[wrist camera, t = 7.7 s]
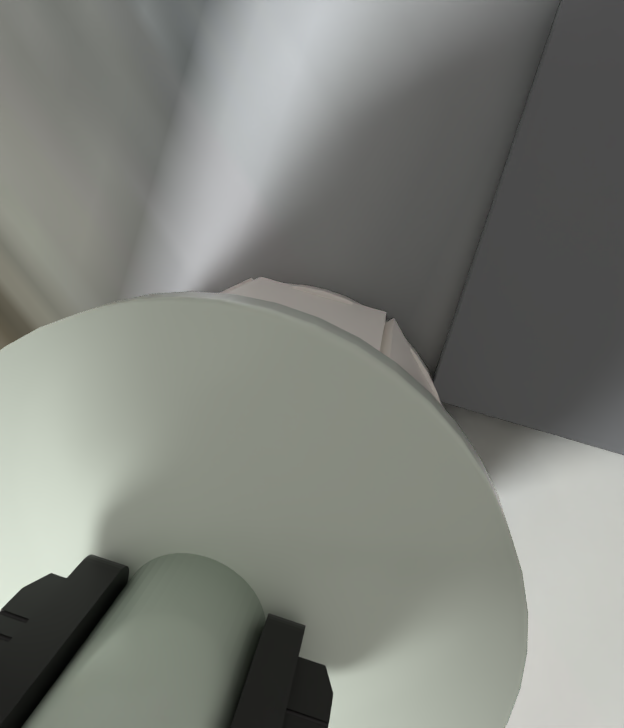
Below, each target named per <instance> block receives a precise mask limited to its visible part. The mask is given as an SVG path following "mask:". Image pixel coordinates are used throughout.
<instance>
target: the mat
mask: <svg viewBox="0 0 624 728" xmlns="http://www.w3.org/2000/svg"><path fill="white" fill-rule="evenodd" d="M433 384H434V387H435V389H436V391H437V393H438V396H439V399H440V401H441V402H444V403H447V404H451V405H454V406H458V407H461V408H464V409H468V410H471V411H475V412H478V413H482V414H485V415H488V416H492V417H495V418H499V419H502V420H505V421H509V422H512V423H516V424H519V425H523V426H526V427H529V428H533V429H536V430H540V431H543V432H546V433H550V434H553V435H557V436H560V437H564V438H567V439H570V440H574V441H577V442H581V443H584V444H587V445H591V446H594V447H598V448H601V449H605V450H608V451H611V452H615V453H618V454H622V455H624V0H561V2H560V4H559V7H558V10H557V13H556V16H555V19H554V22H553V25H552V28H551V31H550V34H549V37H548V40H547V43H546V46H545V49H544V52H543V55H542V58H541V61H540V64H539V67H538V70H537V73H536V76H535V79H534V81H533V84H532V87H531V90H530V93H529V96H528V99H527V102H526V105H525V108H524V111H523V114H522V117H521V120H520V123H519V126H518V129H517V132H516V135H515V138H514V141H513V144H512V147H511V150H510V153H509V156H508V158H507V161H506V164H505V167H504V170H503V173H502V176H501V179H500V182H499V185H498V188H497V191H496V194H495V197H494V200H493V203H492V206H491V209H490V212H489V215H488V218H487V221H486V224H485V227H484V230H483V233H482V235H481V238H480V241H479V244H478V247H477V250H476V253H475V256H474V259H473V262H472V265H471V268H470V271H469V274H468V277H467V280H466V283H465V286H464V289H463V292H462V295H461V298H460V301H459V304H458V307H457V310H456V312H455V315H454V318H453V321H452V324H451V327H450V330H449V333H448V336H447V339H446V342H445V345H444V348H443V351H442V354H441V357H440V360H439V363H438V366H437V369H436V372H435V375H434V378H433Z"/></svg>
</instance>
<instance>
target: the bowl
mask: <svg viewBox="0 0 624 728" xmlns="http://www.w3.org/2000/svg"><path fill="white" fill-rule="evenodd" d="M219 293H225V294H237V295H241V296H246V297H251V298H256V299H260V300H265V301H270V302H275V303H279V304H282V305H285V306H287V307H290V308H293V309H296V310H299V311H302V312H305V313H307V314H310V315H313V316H316V317H319V318H321V319H323V320H325V321H327V322H329V323H331V324H333V325H335V326H337V327H339V328H341V329H343V330H345V331H347V332H349V333H351V334H353V335H355V336H357V337H359V338H361V339H362V340H364V341H365V342H367V343H368V344H370V345H371V346H373V347H374V348H375V349H377V350H378V351H380V352H381V353H383V354H384V355H386V356H387V357H389V358H390V359H392V360H393V361H395V362H396V363H397V364H399V365H400V366H401V367H402V368H403V369H404V370H405V371H407V372H408V373H409V374H410V375H411V376H412V377H413V378H415V379H416V380H417V381H418V382H419V383H420V384H421V385H422V386H424V387H425V388H426V389H427V390H428V391H429V392H430V393H431V394H432V395H433V396H434V397H435V399H436V400H437V401H438V402H439V403H440V404H441V405H442V403H441V401H440V399H439V396H438V393H437V391H436V389H435V387H434V384H433V379H432V377H431V375H430V373H429V371H428V369H427V367H426V366H425V364H424V362H423V361H422V359H421V358H420V356H419V355H418V353H417V352H416V350H415V349H414V348H413V347H412V346H411V344H410V343H409V342H408V341H407V340H406V338H405V337H404V335H403V333H402V331H401V330H400V328H399V326H398V324H397V322H396V321H395V319H394V318H393V319H391V320H389V321H386V320H385V318H386V313H387V312H385V311H381V310H377V309H374V308H370V307H367V306H364V305H362V304H360V303H358V302H356V301H354V300H352V299H350V298H348V297H346V296H343V295H341V294H338V293H335V292H332V291H329V290H326V289H322V288H318V287H313V286H308V285H302V284H289V283H282V282H278V281H275V280H271V279H267V278H264V277H259V278H257V279H255V280H253V279H252V278H250V279H248V280H246V281H244V282H241V283H239V284H237V285H235V286H233V287H230V288H228V289H226V290H224V291H222V292H219ZM442 407H443V405H442ZM443 408H444V407H443Z"/></svg>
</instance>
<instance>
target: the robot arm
mask: <svg viewBox="0 0 624 728" xmlns="http://www.w3.org/2000/svg"><path fill="white" fill-rule="evenodd" d="M128 577H129V567H128V566H126V565H123V564H120V563H117V562H114V561H111V560H108V559H105V558H102V557H99V556H96V555H93V554H90V555H88V556H87V557H85V558H84V559H83V561H82V562H81V563H80V564H79V565H78V566H77V567H76V568H75V569H74V570H73V572H72V573H71V574H70V575H69V576H68V577H67V578H65V577H62V576H59V575H56V574H53V573H50V574H48V575H46V576H44V577H42V578H40V579H38V580H36V581H34V582H32V583H30V584H29V585H27V586H25V587H23V588H22V589H21V590H20V591H19V592H18V593H17V594H16V595H15V596H14V597H13V598H12V599H11V600H10V601H9V602H8V603H7V604H6V605H5V606H4V607H3V608H2V609H1V611H0V728H21V727H22V726H23V724H24V723H25V721H26V720H27V719H28V717H29V716H30V715H31V713H32V712H33V711H34V709H35V708H36V707H37V705H38V704H39V702H40V701H41V700H42V698H43V697H44V696H45V694H46V693H47V692H48V690H49V689H50V687H51V686H52V685H53V683H54V682H55V681H56V679H57V678H58V677H59V675H60V674H61V672H62V671H63V670H64V668H65V667H66V666H67V664H68V663H69V662H70V660H71V659H72V658H73V656H74V655H75V653H76V652H77V651H78V649H79V648H80V647H81V645H82V644H83V643H84V641H85V640H86V638H87V637H88V636H89V634H90V633H91V632H92V630H93V629H94V628H95V626H96V625H97V624H98V622H99V621H100V619H101V618H102V617H103V615H104V614H105V613H106V611H107V610H108V609H109V607H110V606H111V604H112V603H113V602H114V600H115V599H116V598H117V596H118V595H119V594H120V592H121V591H122V590H123V588H124V587H125V585H126V584H127V582H128ZM305 626H306V625H303V624H300V623H297V622H294V621H291V620H288V619H285V618H282V617H279V616H276V615H273V614H270V613H269V614H268V616H267V619H266V622H265V625H264V628H263V631H262V634H261V637H260V640H259V643H258V646H257V649H256V652H255V655H254V658H253V661H252V664H251V667H250V670H249V673H248V676H247V679H246V682H245V685H244V688H243V691H242V694H241V697H240V700H239V703H238V706H237V709H236V712H235V715H234V718H233V721H232V724H231V727H230V728H328V725H329V721H330V714H331V707H332V700H333V690H332V687H331V683H330V680H329V676H328V672H327V669H326V665H323V664H320V663H317V662H314V661H311V660H308V659H305V658H302V657H299V653H300V649H301V644H302V640H303V636H304V631H305Z"/></svg>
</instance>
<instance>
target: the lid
mask: <svg viewBox="0 0 624 728" xmlns="http://www.w3.org/2000/svg"><path fill="white" fill-rule="evenodd" d="M90 554H93V555H96V556H99V557H102V558H105V559H108V560H111V561H114V562H117V563H120V564H123V565H126V566H128V567H129V577H128V582H127V584H126V585H125V587H124V588H123V590H122V591H121V592H120V594H119V595H118V596H117V598H116V599H115V600H114V602H113V603H112V604H111V606H110V607H109V609H108V610H107V611H106V613H105V614H104V615H103V617H102V618H101V619H100V621H99V622H98V624H97V625H96V626H95V628H94V629H93V630H92V632H91V633H90V634H89V636H88V637H87V638H86V640H85V641H84V643H83V644H82V645H81V647H80V648H79V649H78V651H77V652H76V653H75V655H74V656H73V658H72V659H71V660H70V662H69V663H68V664H67V666H66V667H65V668H64V670H63V671H62V672H61V674H60V675H59V677H58V678H57V679H56V681H55V682H54V683H53V685H52V686H51V687H50V689H49V690H48V692H47V693H46V694H45V696H44V697H43V698H42V700H41V701H40V702H39V704H38V705H37V707H36V708H35V709H34V711H33V712H32V713H31V715H30V716H29V717H28V719H27V720H26V721H25V723H24V724H23V726H22V727H21V728H230V727H231V724H232V721H233V718H234V715H235V712H236V709H237V706H238V703H239V700H240V697H241V694H242V691H243V688H244V685H245V682H246V679H247V676H248V673H249V670H250V667H251V664H252V661H253V658H254V655H255V652H256V649H257V646H258V643H259V640H260V637H261V634H262V631H263V628H264V625H265V622H266V619H267V616H268V614H269V613H270V614H273V615H276V616H279V617H282V618H285V619H288V620H291V621H294V622H297V623H300V624H303V625H306V626H305V631H304V636H303V640H302V644H301V649H300V653H299V657H302V658H305V659H308V660H311V661H314V662H317V663H320V664H323V665H326V669H327V672H328V676H329V680H330V683H331V687H332V690H333V700H332V707H331V714H330V721H329V725H328V728H505V726H506V724H507V723H508V720H509V718H510V715H511V712H512V709H513V707H514V704H515V701H516V699H517V696H518V693H519V690H520V687H521V682H522V677H523V671H524V666H525V661H526V655H527V636H528V610H527V602H526V595H525V588H524V581H523V574H522V570H521V567H520V563H519V560H518V557H517V554H516V550H515V547H514V544H513V540H512V537H511V534H510V531H509V528H508V524H507V521H506V518H505V515H504V512H503V509H502V506H501V503H500V500H499V497H498V494H497V492H496V490H495V488H494V486H493V484H492V482H491V480H490V477H489V475H488V473H487V471H486V469H485V467H484V465H483V463H482V460H481V459H480V457H479V456H478V454H477V452H476V451H475V449H474V448H473V446H472V445H471V443H470V442H469V440H468V439H467V437H466V436H465V434H464V433H463V431H462V430H461V428H460V427H459V425H458V424H457V423H456V421H455V420H454V419H453V418H452V417H451V416H450V415H449V413H448V412H447V411H446V410H445V409H444V408H443V407H442V405H441V404H440V403H439V402H438V401H437V400H436V399H435V397H434V396H433V395H432V394H431V393H430V392H429V391H428V390H427V389H426V388H425V387H424V386H422V385H421V384H420V383H419V382H418V381H417V380H416V379H415V378H413V377H412V376H411V375H410V374H409V373H408V372H407V371H405V370H404V369H403V368H402V367H401V366H400V365H399V364H397V363H396V362H395V361H393V360H392V359H390V358H389V357H387V356H386V355H384V354H383V353H381V352H380V351H378V350H377V349H375V348H374V347H373V346H371V345H370V344H368V343H367V342H365V341H364V340H362V339H361V338H359V337H357V336H355V335H353V334H351V333H349V332H347V331H345V330H343V329H341V328H339V327H337V326H335V325H333V324H331V323H329V322H327V321H325V320H323V319H321V318H319V317H316V316H313V315H310V314H307V313H305V312H302V311H299V310H296V309H293V308H290V307H287V306H285V305H282V304H279V303H275V302H270V301H265V300H260V299H256V298H251V297H246V296H241V295H237V294H225V293H212V292H198V291H187V292H171V293H155V294H149V295H144V296H139V297H134V298H129V299H124V300H120V301H115V302H111V303H108V304H105V305H102V306H99V307H96V308H93V309H90V310H87V311H84V312H81V313H78V314H75V315H72V316H70V317H67V318H64V319H62V320H59V321H56V322H53V323H51V324H48V325H45V326H42V327H40V328H38V329H36V330H34V331H32V332H31V333H29V334H27V335H25V336H23V337H22V338H20V339H18V340H16V341H14V342H13V343H11V344H9V345H7V346H5V347H4V348H3V349H2V350H0V611H1V609H2V608H3V607H4V606H5V605H6V604H7V603H8V602H9V601H10V600H11V599H12V598H13V597H14V596H15V595H16V594H17V593H18V592H19V591H20V590H21V589H22V588H23V587H25V586H27V585H29V584H30V583H32V582H34V581H36V580H38V579H40V578H42V577H44V576H46V575H48V574H50V573H53V574H56V575H59V576H62V577H65V578H67V577H68V576H69V575H70V574H71V573H72V572H73V570H74V569H75V568H76V567H77V566H78V565H79V564H80V563H81V562H82V561H83V559H84V558H85V557H87V556H88V555H90Z"/></svg>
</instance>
